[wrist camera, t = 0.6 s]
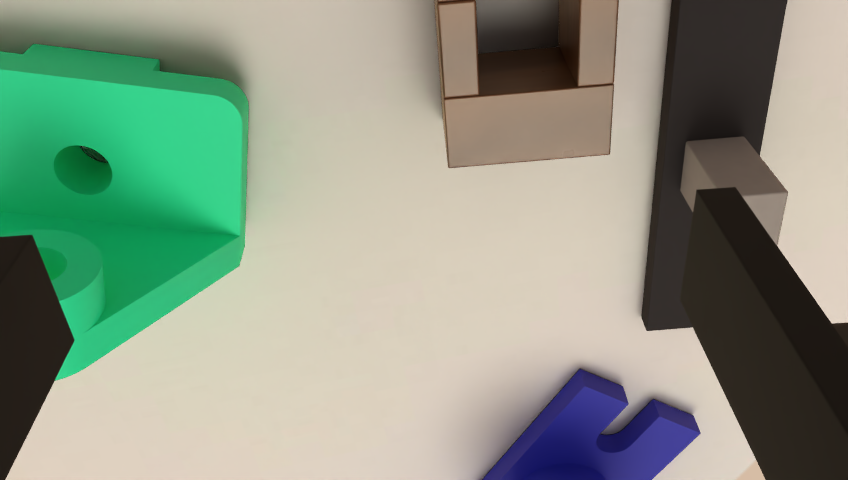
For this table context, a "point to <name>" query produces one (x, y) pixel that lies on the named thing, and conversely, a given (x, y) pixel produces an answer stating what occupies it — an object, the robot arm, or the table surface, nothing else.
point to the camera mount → (121, 185)
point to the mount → (596, 437)
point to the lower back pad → (710, 133)
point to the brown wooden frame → (527, 88)
